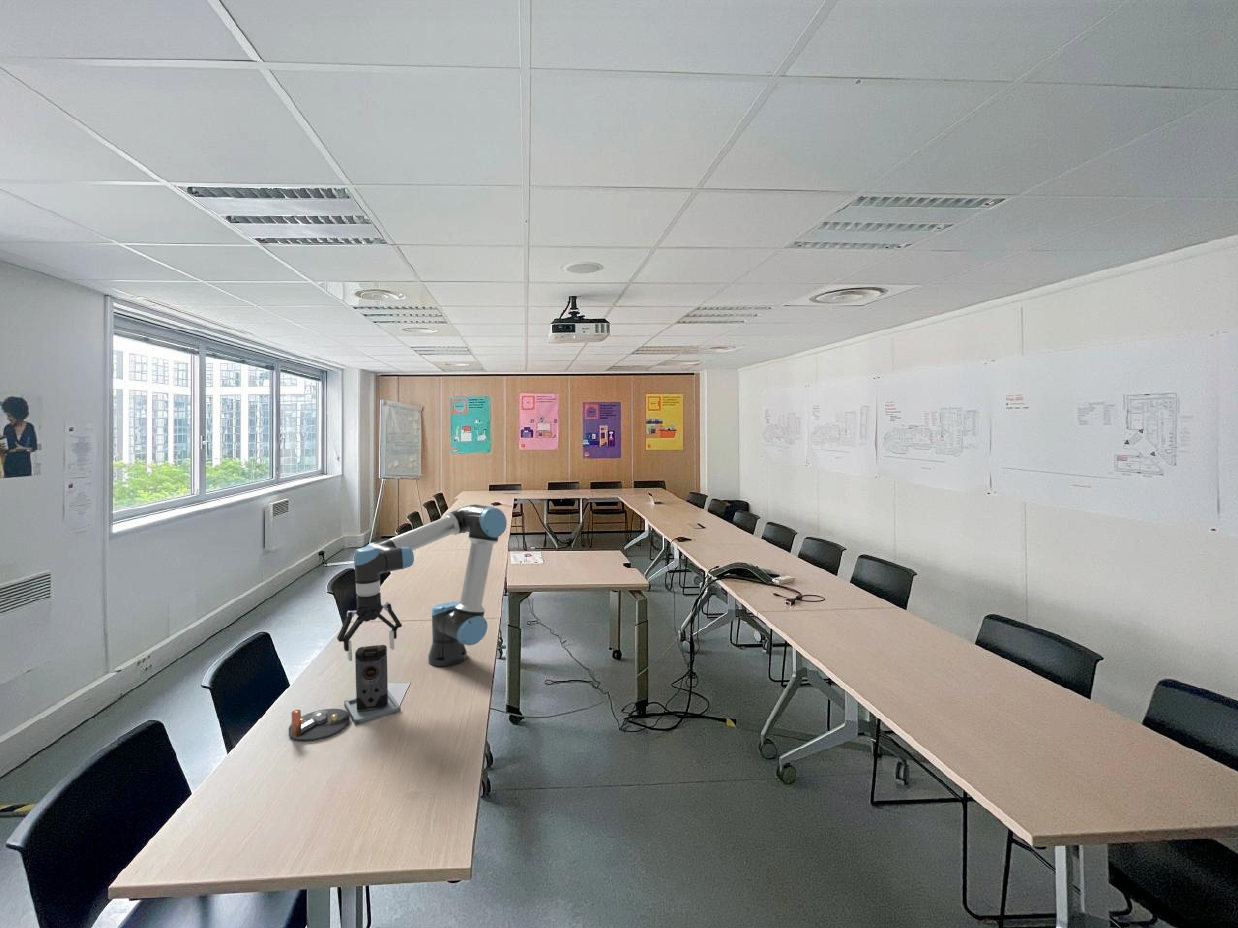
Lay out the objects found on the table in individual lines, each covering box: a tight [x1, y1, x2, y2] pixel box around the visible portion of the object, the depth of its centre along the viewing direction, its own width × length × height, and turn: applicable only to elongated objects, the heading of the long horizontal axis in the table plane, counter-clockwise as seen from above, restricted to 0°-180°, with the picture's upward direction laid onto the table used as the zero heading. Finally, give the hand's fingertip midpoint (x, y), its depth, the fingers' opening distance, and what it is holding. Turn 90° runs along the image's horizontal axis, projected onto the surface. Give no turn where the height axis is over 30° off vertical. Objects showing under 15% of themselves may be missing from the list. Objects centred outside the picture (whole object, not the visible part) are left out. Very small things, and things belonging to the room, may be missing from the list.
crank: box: [291, 709, 328, 736], centre depth 168 cm, size 11×4×7 cm, turn 159°
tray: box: [343, 690, 402, 726], centre depth 183 cm, size 14×16×2 cm
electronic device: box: [354, 644, 389, 712], centre depth 183 cm, size 9×6×20 cm, turn 105°
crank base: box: [288, 708, 351, 743], centre depth 172 cm, size 17×17×4 cm
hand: (371, 654), depth 186 cm, fingers open, 13 cm apart
